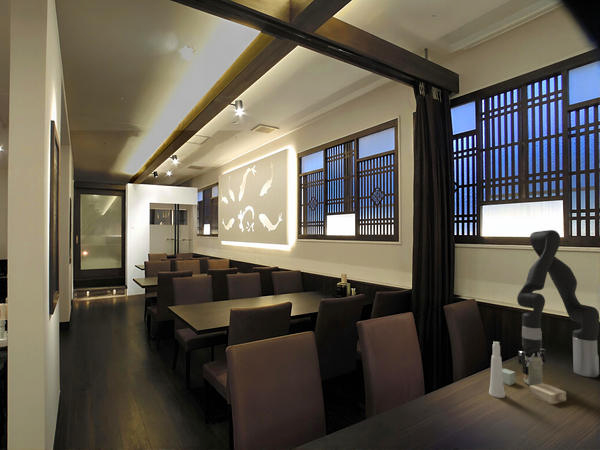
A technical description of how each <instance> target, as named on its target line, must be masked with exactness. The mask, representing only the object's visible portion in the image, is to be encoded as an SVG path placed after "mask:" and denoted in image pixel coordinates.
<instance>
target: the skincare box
mask: <svg viewBox="0 0 600 450" xmlns="http://www.w3.org/2000/svg"><path fill="white" fill-rule="evenodd" d="M529 358H530V357H526V356H525V359H527V360H528V359H529ZM542 359H543V357H542V358H541V357H537V356H536V357H533V359H532V361H531V362H530V363H529V365H528V367H529V375H526V374H524V373H523V382H525V383H526V384H527V385H529V386H531V385H536V384H541V383H544V381H543V379H544V378H543V364H542ZM526 362H527V361H526ZM526 362H525V363H526Z"/></svg>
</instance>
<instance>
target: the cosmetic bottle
mask: <svg viewBox="0 0 600 450" xmlns="http://www.w3.org/2000/svg"><path fill="white" fill-rule="evenodd" d="M492 342H493V344H492V355H491V358H490V359H491V360H490V381H489V382H490V383H489V391H488V394H489V395H490V396H492V397H494V398H500V399H501V398H502V399H503V398H505V397H506V394H505V388H504V383H503V374H502V369H503V362H502V356H501V345H500V341H492Z"/></svg>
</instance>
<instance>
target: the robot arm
mask: <svg viewBox="0 0 600 450" xmlns="http://www.w3.org/2000/svg"><path fill="white" fill-rule="evenodd" d="M529 242H530V245H531V246H532V249H533V250H534V251H535V253H536V255H537V256H538V257H539V258H538V259H537V260H536V261H535V262H534V263H533V264H532V265H531V267H530V268H529V270H528V275H527V276H526V277H527V278H526V282H525V283H524V284H523V286H522V288H521V289H520V291H519V292H518V294H517V297H516V301H517V304H518V306H520V307H522V308H527V309H528V308H529V309H533V310H532V311H531V312H524V313H522V314H521V315H522V316H521V318H522V319H521V320H522V322H521V325H522V326H521V345H522V347H523V349H522V350H517V359H518V361H517V363H518V365H521V366H522V373H523V375H524V374H526V375H529V367H528V365H529V363H530V362H531V361H532V359H533V357H536V356H537V357H541V358H542V365H543V364H546V363H547V350H546V349H545V348H542V347H543V337H542V336H543V335H542V333H543V332H542V323H541V321H542V320H541V319H542V315H543V312H544V311H543V310H544V307H545V304H546V299H545V297H544V295H543V294H541V293H539V292H535V291H542V290H543V289H544V287H545V283H546V280H547V279H546V278H547V275H549V276H550V279H551V280H552V283H553V284H554V286H555V288H556V290H557V291H558V292H557V293H558V294H559V296H560V298H561V300H562V303H563V305H564V308H565V310H566V313H567V315H568V317H569V319H570V320H571V321H573V322H574V323H577V324H581V328H580V329H574V330H573V331H572V352H573V353H572V354H573V355H572V358H573V362H572V363H573V364H572V365H573V373H575V374H577V375H579V376H583V377H587V378H597V377H599V375H600V364H599V363H600V362H599V354H598V335H599V333H600V313H599V310H598V309H597V308H596V307H594V306H590V305H586V304H582V303H580V301H579V299H578V298H577V295H576V290H577V286H578V280H577V278H576V275H575V273H574V272H573V271H572V269H571V267H570V266H568V264H566V263H564V262H563V261H562V260H560V259H559V258H558V257H556V254H557V252H558V251H559V248H560V245H561V236H560V234H559V232H558V231H557V230H554V229H548V230H539V231H534V232H532V233H530V236H529ZM525 356H526V357H530V358H529V359H528V360H527V359H525ZM526 361H527V362H526ZM525 362H526V363H525Z"/></svg>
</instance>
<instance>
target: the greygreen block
mask: <svg viewBox="0 0 600 450" xmlns="http://www.w3.org/2000/svg"><path fill="white" fill-rule="evenodd" d="M502 374H503V384H505V385H507V386H511V385H514V384H516V381H517V380H516V371H513V370H511V369H507V368H502Z"/></svg>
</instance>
